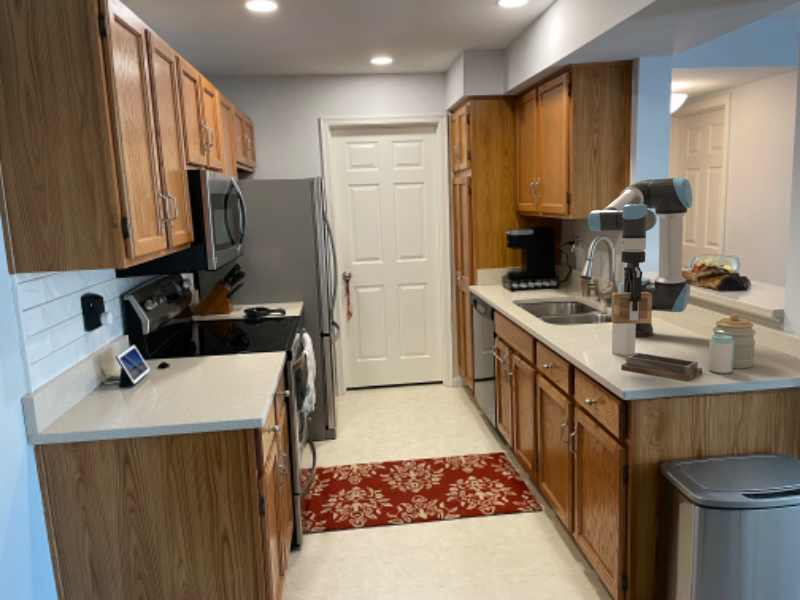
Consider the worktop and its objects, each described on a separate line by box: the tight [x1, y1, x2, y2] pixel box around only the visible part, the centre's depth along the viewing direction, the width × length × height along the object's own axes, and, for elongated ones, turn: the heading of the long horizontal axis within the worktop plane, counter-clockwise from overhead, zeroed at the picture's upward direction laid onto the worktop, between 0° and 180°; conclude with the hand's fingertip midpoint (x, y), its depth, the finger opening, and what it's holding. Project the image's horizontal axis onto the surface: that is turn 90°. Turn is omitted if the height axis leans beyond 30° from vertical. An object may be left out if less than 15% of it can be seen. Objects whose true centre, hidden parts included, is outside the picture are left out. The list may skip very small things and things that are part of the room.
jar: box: [712, 313, 757, 369], centre depth 203 cm, size 13×13×18 cm
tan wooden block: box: [611, 292, 653, 324], centre depth 202 cm, size 5×12×10 cm, turn 84°
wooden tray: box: [620, 352, 703, 382], centre depth 199 cm, size 12×22×4 cm, turn 45°
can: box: [708, 334, 734, 375], centre depth 195 cm, size 7×7×12 cm
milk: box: [611, 322, 636, 357], centre depth 222 cm, size 6×6×22 cm
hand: (631, 318), depth 203 cm, fingers closed on tan wooden block, 5 cm apart
